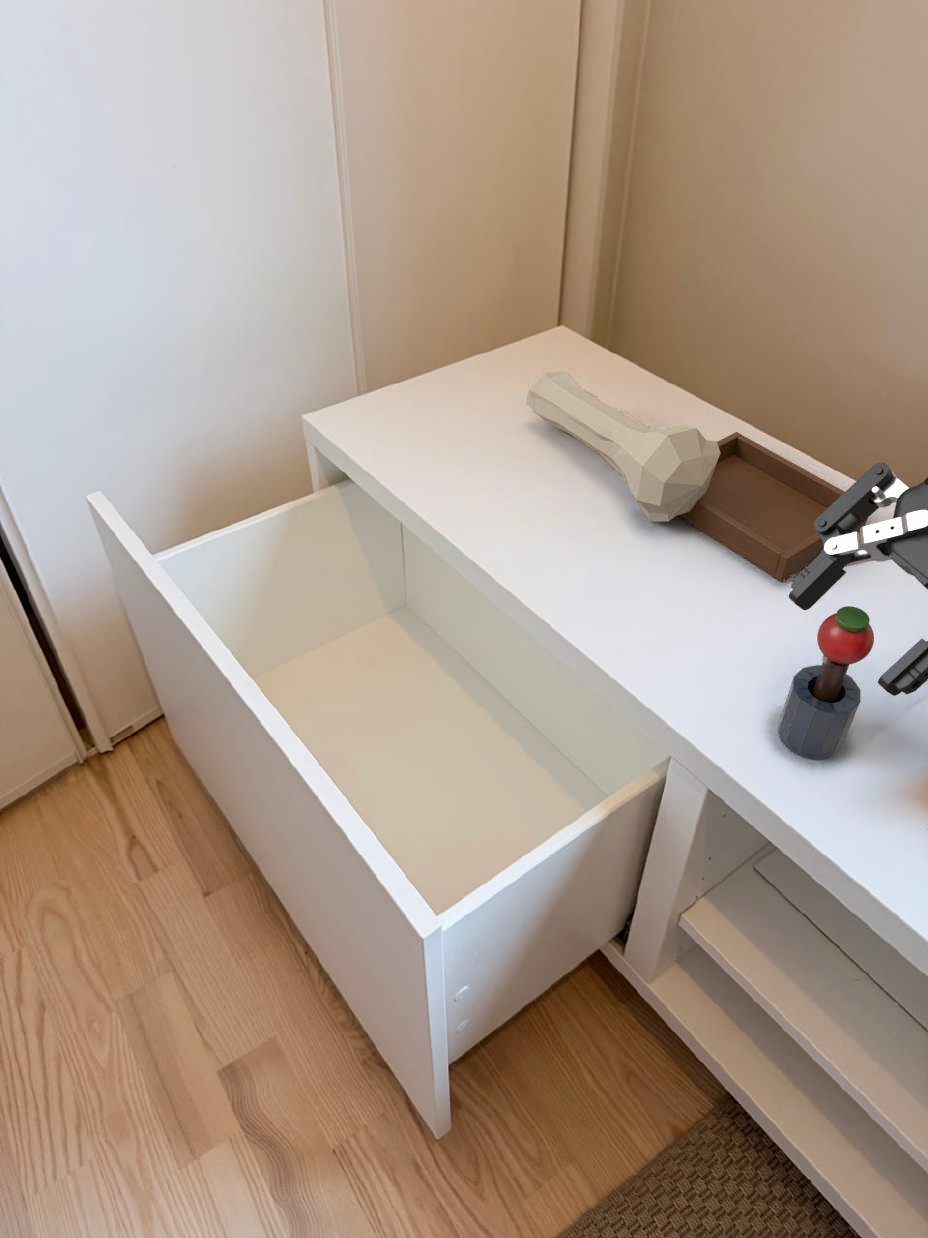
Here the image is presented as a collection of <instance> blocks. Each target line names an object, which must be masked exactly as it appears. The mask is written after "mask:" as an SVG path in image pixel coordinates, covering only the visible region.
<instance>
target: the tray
mask: <svg viewBox="0 0 928 1238" xmlns="http://www.w3.org/2000/svg"><path fill="white" fill-rule="evenodd" d="M717 444H718V447H719V450H720V456H719V458H718V461H717V464H716V467H715V469H714V472H713V475H712V477H711V480H710V483H709V486H708V488H707V491H706V493H705V494H704V495H703V496H702V497H701V499H699V500H698V501H697V502H696V504H695V506H694V507H693V508H692V509H691V511H690V512H686V513H683V514H680V515H677V517H680V518H682V519H684V521H686V522H688V523H689V524H691V525H692V526H693V527H695V528H697V529H698V530H700V531H702V532H703V533H705V534H706V535H708V536H709V537H711V539H714V540H715V541H717V542H719V544H722V545H723V546H724V547H726V548H728V549H729V550H731V551H732V552H734V553H735V554H737V555H738V556H740V557H742V558H743V559H745V560H746V561H747V562H749V563H751V564H752V565H754V566H755V567H757V568H758V569H760V570H761V571H763V572H765V573H766V574H768V575H769V576H771V577H772V578H774V579H775V580H777V581H779V583H782V582H783V581H784V580H785V581H786V580H787V579H789V578H790V577H791V576H793V575H795V574H796V573H798V572H799V571H801V570H802V569H805V568H806V567H807V566H808V565H809V564H810V563H811V562H812V561H813V560H814V559H815V558H816V557H817V556H818V555H819V554H820V553H821V551H822V549H823V542H822V540H821V538H820V535H819V533H818V532H817V531H816V530H815V528H814V521H815V520H816V518H817V517H818V516H820V515H821V514H822V513H823V512H824V511H825V510H826V509H827V508H828V507H829V506H830V505H831V504H832V503H834V502H835V501H836V500H837V499H838V498H839V497H840V496H841V495H842V494H843V493H844V492H845V491H846V490H844V489H843V490H842V489H841V488H840V487H837V486H836V485H834V484H832V483H831V482H829V481H827V480H825V479H823V478H821V477H819V476H817V475H816V474H814V473H812V472H810V471H808V470H806V469H805V468H803V467H801V466H799V465H798V464H795V463H794V462H792V461H791V460H788V459H787V458H785V457H783V456H781V455H779V454H777V453H776V452H774V451H773V450H770V449H769V448H767V447H765V446H763V445H761V444H760V443H757V442H755V440H752V439H751V438H749V437H747V436H745V435H743V434H741V433H740V432H738V431H735V432H733V433H731V434H729V435H727V436H725V437H723V438H722V439H720V440H717ZM868 518H869V517H868ZM868 518H867V519H866V520H865V521H864V522H863V523H862V524H860V525H859V526H858V527H857V528H856V529H855V530H854V531H853V532H857V531H858V530H859V528H861V527H863V526H867V525H866V524H867V522H868ZM853 532H852V533H853Z"/></svg>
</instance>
